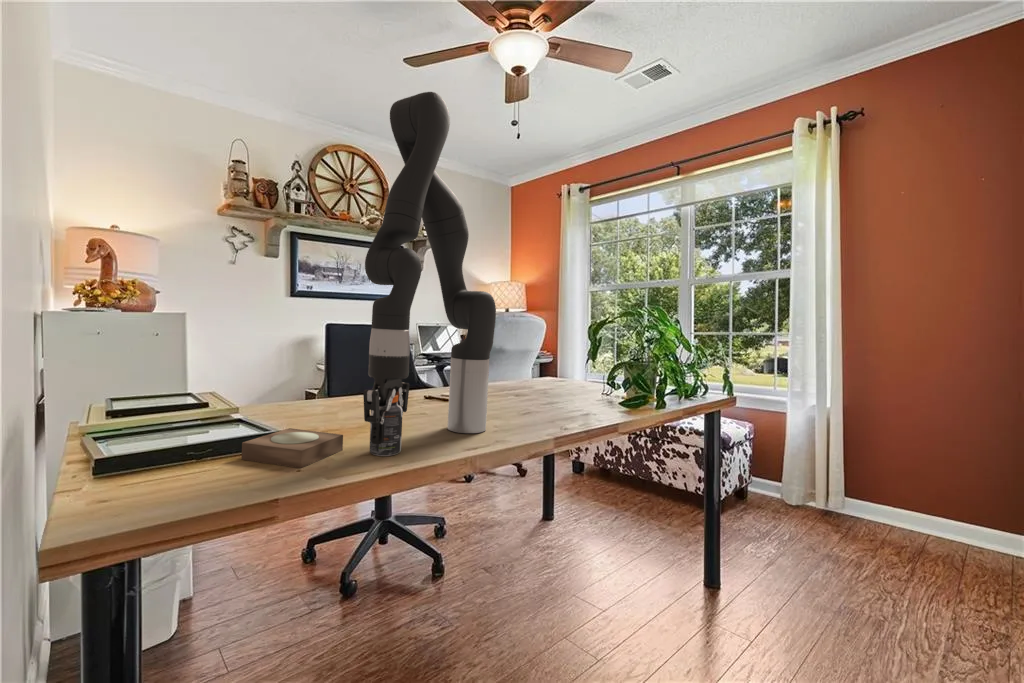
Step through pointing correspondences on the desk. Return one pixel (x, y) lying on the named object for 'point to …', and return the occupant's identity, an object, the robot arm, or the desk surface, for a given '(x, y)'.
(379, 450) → the pill bottle
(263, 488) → the desk surface
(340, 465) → the desk surface
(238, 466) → the desk surface
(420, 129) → the robot arm
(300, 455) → the walnut base
